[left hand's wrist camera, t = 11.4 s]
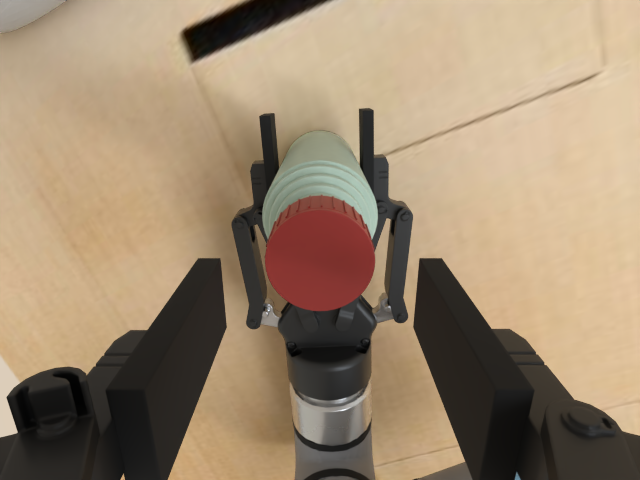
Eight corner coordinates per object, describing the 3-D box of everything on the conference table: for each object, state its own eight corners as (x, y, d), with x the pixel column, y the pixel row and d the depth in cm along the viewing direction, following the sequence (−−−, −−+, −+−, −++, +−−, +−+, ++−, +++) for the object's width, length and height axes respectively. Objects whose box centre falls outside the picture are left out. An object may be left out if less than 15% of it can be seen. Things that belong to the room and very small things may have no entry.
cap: (386, 258, 20) (395, 281, 17) (303, 302, 20) (301, 329, 18) (338, 175, 18) (341, 187, 16) (251, 225, 19) (241, 244, 17)
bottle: (367, 179, 38) (421, 283, 18) (307, 213, 39) (295, 347, 19) (333, 116, 36) (349, 154, 16) (271, 154, 37) (214, 233, 17)
